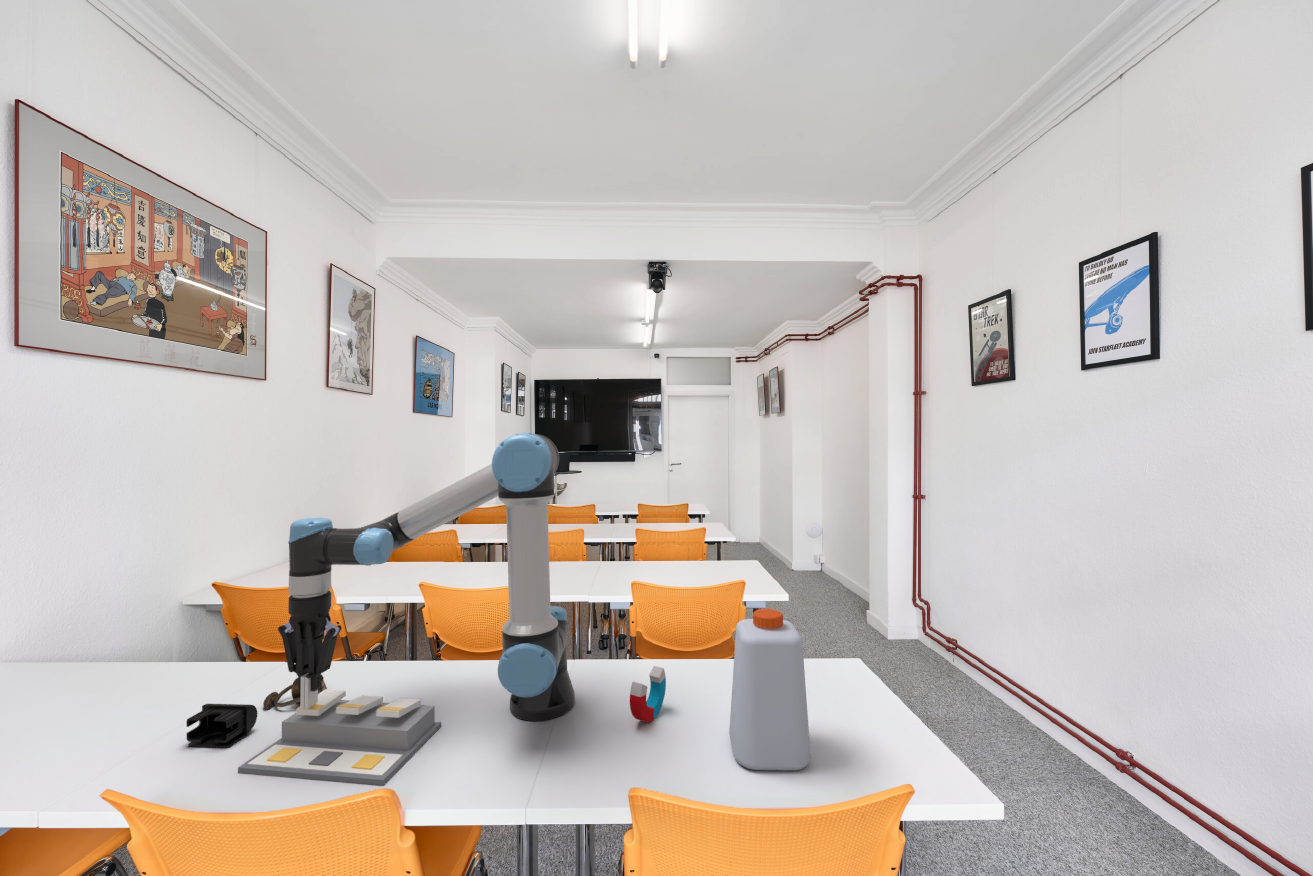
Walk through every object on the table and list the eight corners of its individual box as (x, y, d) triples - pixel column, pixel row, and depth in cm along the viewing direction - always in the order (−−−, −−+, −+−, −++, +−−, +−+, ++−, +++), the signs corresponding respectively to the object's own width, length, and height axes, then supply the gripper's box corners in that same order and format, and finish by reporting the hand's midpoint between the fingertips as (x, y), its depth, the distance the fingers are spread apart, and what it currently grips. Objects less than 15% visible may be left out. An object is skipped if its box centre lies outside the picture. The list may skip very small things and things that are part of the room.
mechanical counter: (302, 694, 121) (334, 666, 131) (253, 685, 123) (289, 658, 133) (305, 721, 123) (337, 691, 132) (257, 711, 125) (292, 683, 134)
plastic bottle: (727, 729, 116) (726, 601, 116) (797, 730, 115) (796, 601, 115) (735, 773, 101) (735, 625, 101) (815, 774, 100) (815, 626, 100)
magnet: (656, 705, 126) (656, 663, 126) (666, 708, 125) (666, 666, 125) (629, 729, 116) (629, 683, 116) (640, 732, 114) (639, 686, 114)
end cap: (258, 730, 116) (258, 699, 116) (230, 749, 109) (230, 716, 109) (214, 729, 117) (214, 698, 117) (184, 747, 109) (184, 715, 109)
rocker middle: (382, 702, 116) (383, 696, 117) (357, 715, 109) (358, 707, 109) (361, 701, 117) (362, 694, 117) (335, 713, 109) (336, 706, 110)
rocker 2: (420, 705, 115) (421, 698, 116) (398, 717, 107) (399, 710, 108) (399, 703, 116) (400, 697, 116) (375, 716, 108) (376, 709, 108)
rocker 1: (345, 696, 118) (345, 690, 118) (318, 716, 110) (318, 709, 110) (325, 694, 118) (325, 688, 118) (296, 714, 110) (296, 708, 110)
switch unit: (441, 726, 117) (441, 704, 117) (383, 785, 97) (383, 758, 97) (317, 717, 121) (317, 695, 121) (237, 772, 101) (237, 746, 101)
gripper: (351, 589, 114) (350, 698, 114) (296, 586, 116) (295, 694, 116) (325, 599, 106) (324, 717, 106) (266, 596, 108) (265, 712, 108)
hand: (309, 705), depth 111 cm, fingers closed
